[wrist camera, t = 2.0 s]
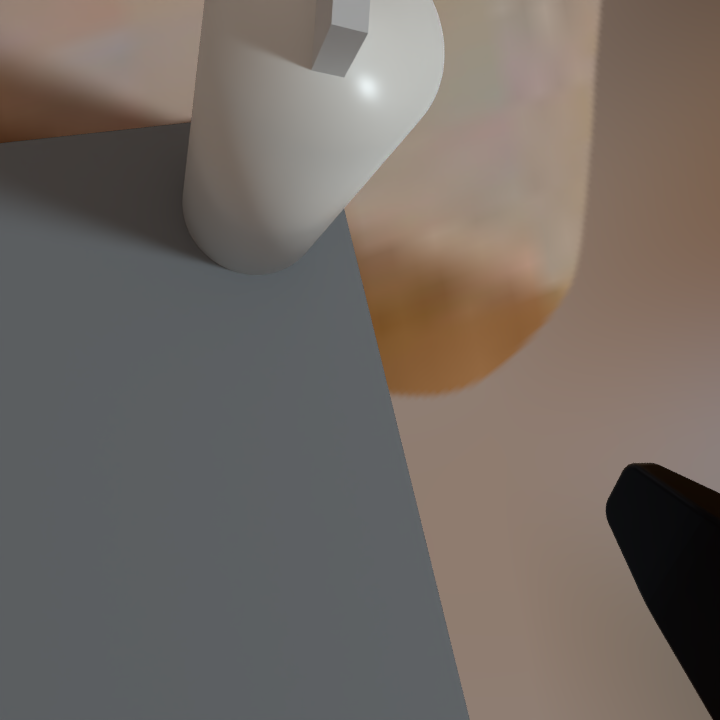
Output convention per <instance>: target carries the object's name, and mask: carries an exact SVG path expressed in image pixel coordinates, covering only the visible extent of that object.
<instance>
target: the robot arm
mask: <svg viewBox="0 0 720 720" xmlns="http://www.w3.org/2000/svg"><path fill="white" fill-rule="evenodd" d="M606 516H607V520H608V523H609V525H610V527H611V529H612V532H613V534H614V536H615V538H616V540H617V543H618V545H619V547H620V549H621V551H622V554H623V556H624V558H625V560H626V562H627V565H628V566H629V569H630V571H631V573H632V576H633V578H634V580H635V582H636V584H637V586H638V589H639V591H640V593H641V595H642V597H643V599H644V601H645V603H646V605H647V607H648V609H649V610H650V612H651V614H652V616H653V618H654V620H655V621H656V623H657V625H658V627H659V628H660V630H661V632H662V633H663V635H664V637H665V639H666V640H667V642H668V644H669V645H670V647H671V649H672V650H673V652H674V654H675V656H676V657H677V659H678V661H679V663H680V664H681V666H682V668H683V669H684V671H685V673H686V674H687V676H688V678H689V680H690V681H691V683H692V685H693V687H694V688H695V690H696V692H697V693H698V695H699V697H700V698H701V700H702V702H703V703H704V705H705V707H706V709H707V711H708V712H709V714H710V716H711V717H712V719H713V720H720V493H718V492H716V491H714V490H712V489H710V488H707V487H705V486H703V485H701V484H699V483H696V482H695V481H692V480H690V479H688V478H686V477H684V476H682V475H680V474H677V473H675V472H673V471H671V470H669V469H667V468H665V467H662V466H660V465H658V464H654V463H633V464H629V465H628V466H627V467H625V468H624V470H623V471H622V473H621V475H620V477H619V479H618V481H617V483H616V485H615V487H614V489H613V491H612V492H611V494H610V496H609V498H608V500H607V503H606Z"/></svg>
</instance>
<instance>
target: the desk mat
mask: <svg viewBox="0 0 720 720" xmlns="http://www.w3.org/2000/svg"><path fill="white" fill-rule="evenodd" d="M190 126H191V123H181V124H172V125H163V126H154V127H145V128H136V129H126V130H117V131H108V132H99V133H90V134H81V135H71V136H62V137H53V138H44V139H35V140H26V141H16V142H7V143H0V720H470V719H469V715H468V711H467V707H466V703H465V699H464V695H463V691H462V687H461V683H460V679H459V674H458V671H457V666H456V663H455V658H454V654H453V650H452V646H451V642H450V638H449V634H448V630H447V626H446V622H445V618H444V614H443V609H442V605H441V601H440V597H439V593H438V589H437V586H436V581H435V577H434V573H433V569H432V565H431V561H430V557H429V552H428V548H427V544H426V540H425V536H424V532H423V528H422V524H421V520H420V516H419V512H418V508H417V504H416V500H415V496H414V492H413V488H412V483H411V479H410V476H409V471H408V468H407V463H406V459H405V456H404V451H403V447H402V443H401V439H400V435H399V431H398V427H397V423H396V418H395V414H394V410H393V407H392V402H391V398H390V394H389V390H388V386H387V382H386V378H385V374H384V370H383V366H382V362H381V357H380V353H379V349H378V345H377V341H376V337H375V333H374V329H373V325H372V321H371V317H370V313H369V309H368V305H367V301H366V297H365V292H364V288H363V284H362V280H361V276H360V272H359V268H358V264H357V260H356V256H355V252H354V248H353V244H352V240H351V236H350V232H349V227H348V223H347V219H346V215H345V211H344V209H343V210H342V211H341V212H340V214H339V215H338V216H337V217H336V218H335V219H334V221H333V222H332V223H331V224H330V225H329V226H328V228H327V229H326V230H325V231H324V232H323V233H322V235H321V236H320V237H319V238H318V239H317V240H316V242H315V243H314V244H313V245H312V246H311V247H310V248H309V250H308V251H307V252H306V253H305V254H304V255H303V256H302V257H301V258H300V259H299V260H298V261H297V262H295V263H294V264H293V265H291V266H289V267H287V268H285V269H283V270H281V271H278V272H275V273H271V274H266V275H247V274H242V273H238V272H235V271H231V270H229V269H227V268H225V267H222V266H221V265H219V264H217V263H216V262H214V261H213V260H211V259H210V258H209V257H208V256H207V255H205V253H204V252H203V251H202V250H201V249H200V248H199V247H198V246H197V244H196V243H195V242H194V240H193V238H192V237H191V235H190V233H189V231H188V228H187V226H186V223H185V219H184V215H183V207H182V199H183V188H184V179H185V171H186V162H187V153H188V144H189V135H190Z"/></svg>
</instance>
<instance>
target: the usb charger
mask: <svg viewBox="0 0 720 720" xmlns="http://www.w3.org/2000/svg"><path fill="white" fill-rule="evenodd" d="M443 67H444V39H443V32H442V27H441V23H440V20H439V16H438V13H437V10H436V8H435V5H434V3H433V0H205V2H204V11H203V20H202V29H201V37H200V46H199V55H198V64H197V73H196V82H195V91H194V100H193V108H192V117H191V126H190V135H189V144H188V153H187V162H186V171H185V179H184V188H183V199H182V207H183V215H184V219H185V223H186V226H187V228H188V231H189V233H190V235H191V237H192V238H193V240H194V242H195V243H196V244H197V246H198V247H199V248H200V249H201V250H202V251H203V252H204V253H205V255H207V256H208V257H209V258H210V259H211V260H213V261H214V262H216V263H217V264H219V265H221V266H222V267H225V268H227V269H229V270H231V271H235V272H238V273H242V274H247V275H266V274H271V273H275V272H278V271H281V270H283V269H285V268H287V267H289V266H291V265H293V264H294V263H295V262H297V261H298V260H299V259H300V258H301V257H302V256H303V255H304V254H305V253H306V252H307V251H308V250H309V248H310V247H311V246H312V245H313V244H314V243H315V242H316V240H317V239H318V238H319V237H320V236H321V235H322V233H323V232H324V231H325V230H326V229H327V228H328V226H329V225H330V224H331V223H332V222H333V221H334V219H335V218H336V217H337V216H338V215H339V214H340V212H341V211H342V210H343V209H344V208H345V207H346V206H347V204H348V203H349V202H350V201H351V200H352V199H353V197H354V196H355V195H356V194H357V193H358V192H359V190H360V189H361V188H362V187H363V186H364V185H365V183H366V182H367V181H368V180H369V179H370V178H371V176H372V175H373V174H374V173H375V172H376V171H377V170H378V168H379V167H380V166H381V165H382V164H383V163H384V161H385V160H386V159H387V158H388V157H389V156H390V154H391V153H392V152H393V151H394V150H395V149H396V147H397V146H398V145H399V144H400V143H401V142H402V140H403V139H404V138H405V137H406V136H407V135H408V134H409V132H410V131H411V130H412V129H413V128H414V127H415V125H416V124H417V123H418V122H419V121H420V119H421V118H422V117H423V116H424V115H425V113H426V112H427V111H428V109H429V107H430V106H431V104H432V102H433V101H434V99H435V96H436V94H437V91H438V89H439V86H440V82H441V78H442V74H443Z"/></svg>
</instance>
